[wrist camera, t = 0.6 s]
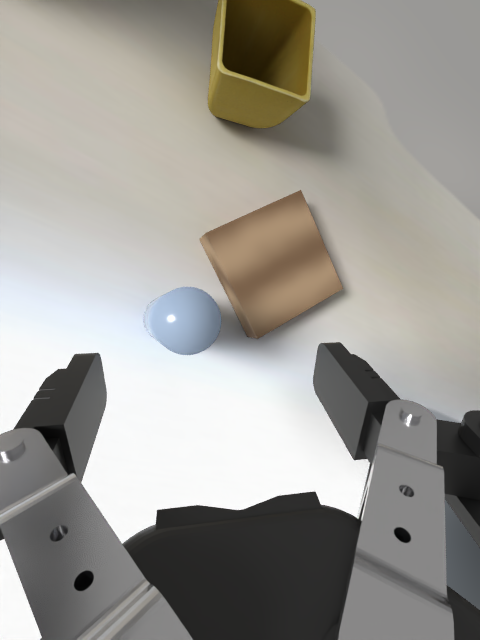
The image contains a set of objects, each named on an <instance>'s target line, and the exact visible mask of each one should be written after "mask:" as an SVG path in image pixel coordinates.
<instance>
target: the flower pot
mask: <svg viewBox="0 0 480 640" xmlns="http://www.w3.org/2000/svg"><path fill="white" fill-rule="evenodd" d="M315 12H316V11H315V9H314V8H313V7H312V6H310V5H308V4H307V3H304V2H303V1H301V0H218V5H217V11H216V16H215V21H214V27H213V39H212V56H211V70H210V82H209V93H208V107H209V110H210V111H211V113H212V114H213V115H214V116H216V117H219V118H222V119H226V120H229V121H232V122H236V123H239V124H243V125H246V126H249V127H253V128H269V127H273V126H276V125H278V124H280V123H281V122H283V121H284V120H285V119H287V118H288V117H289V116H291V115H292V114H293V113H294V112H296V111H297V110H298V109H299V108H301V107H302V106H303V105H304V104H305V103H307V102H308V101H309V100H310V94H311V78H312V61H313V47H314V34H315V19H316V18H315Z"/></svg>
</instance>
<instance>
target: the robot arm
mask: <svg viewBox="0 0 480 640" xmlns="http://www.w3.org/2000/svg"><path fill="white" fill-rule="evenodd" d="M313 385H314V390H315V393H316V395H317V396H318V398H319V400H320V402H321V403H322V405H323V407H324V409H325V410H326V412H327V414H328V416H329V417H330V419H331V421H332V423H333V424H334V426H335V428H336V430H337V431H338V433H339V435H340V437H341V438H342V440H343V442H344V444H345V445H346V447H347V449H348V451H349V452H350V454H351V456H352V458H353V459H354V460H360V459H368V460H369V462H370V466H369V469H368V473H367V477H366V482H365V486H364V490H363V495H362V499H361V503H360V507H359V512H358V516H357V518H356V517H354V516H353V515H351V514H349V513H346V512H344V511H342V510H339V509H337V508H334V507H330V506H326V505H321V504H320V502H319V499H318V497H317V494H316V492H307V493H299V494H290V495H281V496H277V497H274V498H272V499H269V500H267V501H264V502H262V503H259V504H256V505H254V506H251V507H249V508H246V509H243V510H231V509H224V508H216V507H208V506H200V505H196V506H187V507H179V508H170V509H162V510H157V517H156V524H155V525H153V526H150V527H148V528H146V529H144V530H142V531H140V532H138V533H137V534H135V535H134V536H132V537H131V538H129V539H128V540H127V541H125V542H124V543H123V544H122V543H121V542H120V540H119V539H118V537H117V536H116V534H115V533H114V531H113V530H112V528H111V527H110V525H109V524H108V522H107V521H106V519H105V518H104V516H103V515H102V513H101V512H100V510H99V509H98V508H97V506H96V505H95V503H94V502H93V500H92V499H91V497H90V496H89V494H88V493H87V491H86V490H85V488H84V487H83V485H82V484H81V481H82V478H83V475H84V472H85V469H86V466H87V463H88V460H89V457H90V454H91V450H92V447H93V444H94V441H95V438H96V435H97V432H98V429H99V426H100V423H101V419H102V416H103V413H104V410H105V407H106V399H107V392H106V385H105V379H104V373H103V367H102V361H101V357H100V354H99V353H87V354H75V355H74V356H73V358H72V360H71V361H70V363H69V365H68V367H67V368H66V369H58V370H57V371H55V372H54V373H53V374H51V375H50V376H49V377H47V378H46V379H45V381H44V382H43V384H42V386H41V387H40V389H39V391H38V392H37V393H36V395H35V396H34V400H32V401H31V403H30V404H29V406H28V407H27V409H26V411H25V412H24V414H23V415H22V417H21V418H20V420H19V421H18V423H17V425H16V426H15V428H14V429H13V430H11V431H8V432H5V433H3V434H1V435H0V540H2V539H5V541H6V544H7V546H8V549H9V552H10V554H11V557H12V560H13V562H14V565H15V567H16V570H17V573H18V575H19V578H20V581H21V583H22V586H23V588H24V591H25V594H26V596H27V599H28V602H29V604H30V607H31V609H32V612H33V615H34V617H35V620H36V623H37V625H38V628H39V630H40V633H41V636H42V638H41V639H40V640H480V610H479V609H477V608H476V607H475V606H474V605H472V604H471V603H470V602H468V601H467V600H466V599H464V598H463V597H462V596H460V595H459V594H458V593H456V592H455V591H454V590H452V589H451V588H450V587H448V586H447V585H446V541H445V500H446V501H447V503H448V504H449V505H450V507H451V508H452V510H453V511H454V512H455V514H456V515H457V517H458V518H459V519H460V521H461V522H462V524H463V525H464V526H465V528H466V529H467V531H468V532H469V534H470V535H471V536H472V538H473V539H474V541H475V542H476V543H477V545H478V546H479V548H480V411H469V412H467V413H466V414H465V415H464V418H463V420H462V422H461V423H455V422H449V421H442V420H436V418H435V416H434V415H433V414H432V413H431V412H430V411H429V410H428V409H426V408H425V407H423V406H422V405H420V404H417V403H415V402H412V401H408V400H401V399H400V398H399V397H398V396H397V395H396V394H395V393H394V391H393V390H392V389H391V388H390V387H389V386H388V385H387V384H386V383H385V382H384V381H383V379H382V378H380V376H379V375H378V374H377V373H376V372H375V371H373V368H372V367H371V366H370V365H369V364H368V363H367V362H366V361H365V360H363V359H361V358H360V357H358V356H356V355H355V354H350V353H349V351H348V350H347V349H346V348H345V347H344V346H343V345H342V344H341V343H340V342H336V343H321V344H319V346H318V350H317V357H316V363H315V370H314V376H313Z"/></svg>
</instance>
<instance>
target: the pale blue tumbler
mask: <svg viewBox="0 0 480 640" xmlns="http://www.w3.org/2000/svg"><path fill="white" fill-rule="evenodd" d="M144 326H145V328H146V330H147V332H148V333H149V334H150V335H151V336H152V337H153V338H154V339H156V340H157V341H158V342H160V343H161V344H162V345H163V346H165V347H166V348H167V349H169V350H170V351H172V352H175V353H178V354H182V355H193V354H197V353H200V352H202V351H204V350H206V349H207V348H208V347H210V346H211V345H212V344H213V342H214V341H215V340H216V338H217V336H218V334H219V332H220V328H221V314H220V310H219V307H218V305H217V304H216V302H215V301H214V299H213V298H212V297H211V296H210V295H209V294H207V293H206V292H204V291H203V290H200V289H198V288H194V287H181V288H177V289H175V290H172V291H170V292H168V293H166V294H164V295H162V296H160V297H158V298H156V299H155V300H153V301H152V302H151V303H150V304H149V305H148V306H147V308H146V310H145V312H144Z"/></svg>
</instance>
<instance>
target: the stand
mask: <svg viewBox="0 0 480 640" xmlns="http://www.w3.org/2000/svg"><path fill="white" fill-rule="evenodd" d="M200 241H201V244H202V246H203V248H204V250H205V252H206V254H207V256H208V258H209V260H210V262H211V264H212V266H213V268H214V270H215V272H216V274H217V276H218V278H219V280H220V282H221V284H222V286H223V288H224V290H225V292H226V294H227V296H228V298H229V300H230V302H231V304H232V306H233V308H234V310H235V312H236V314H237V316H238V318H239V320H240V322H241V324H242V327H243V329H244V331H245V333H246V335H247V337H250V338H256V339H258V338H260V337H262V336H263V335H265V334H267V333H269V332H270V331H272V330H274V329H275V328H277V327H279V326H280V325H282V324H284V323H286V322H287V321H289V320H291V319H292V318H294V317H296V316H297V315H299V314H301V313H302V312H304V311H306V310H308V309H309V308H311V307H313V306H314V305H316V304H318V303H319V302H321V301H323V300H325V299H326V298H328V297H330V296H331V295H333V294H335V293H336V292H338V291H340V290H342V289H343V287H342V285H341V283H340V280H339V278H338V276H337V273H336V271H335V269H334V266H333V264H332V262H331V259H330V257H329V255H328V252H327V250H326V248H325V245H324V243H323V241H322V238H321V236H320V234H319V231H318V229H317V227H316V224H315V222H314V219H313V217H312V215H311V212H310V210H309V208H308V205H307V203H306V201H305V198H304V196H303V194H302V191H301V190H300V191H298V192H295V193H293V194H291V195H289V196H287V197H284V198H282V199H280V200H278V201H276V202H273V203H271V204H269V205H267V206H264V207H262V208H260V209H258V210H256V211H253V212H251V213H249V214H247V215H245V216H242V217H240V218H238V219H236V220H233V221H231V222H229V223H227V224H225V225H222V226H220V227H218V228H216V229H214V230H211V231H209V232H207V233H205V234H204V235H203V236H202V237H201V238H200Z"/></svg>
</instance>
